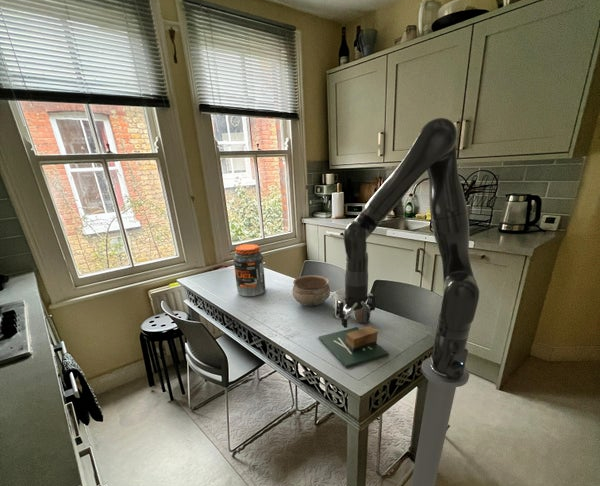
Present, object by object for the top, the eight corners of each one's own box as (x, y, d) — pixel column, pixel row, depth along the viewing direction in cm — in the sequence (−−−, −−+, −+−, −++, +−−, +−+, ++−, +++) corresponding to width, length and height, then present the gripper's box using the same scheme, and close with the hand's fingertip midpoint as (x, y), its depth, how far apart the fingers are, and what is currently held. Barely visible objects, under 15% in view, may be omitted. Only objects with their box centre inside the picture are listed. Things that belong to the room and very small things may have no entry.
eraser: (353, 351, 118) (353, 339, 116) (345, 345, 122) (346, 333, 120) (376, 344, 122) (377, 331, 120) (368, 338, 126) (369, 326, 124)
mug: (352, 316, 147) (353, 292, 142) (342, 320, 143) (343, 296, 138) (336, 309, 154) (336, 286, 149) (326, 313, 150) (326, 290, 145)
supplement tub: (232, 295, 173) (226, 249, 163) (245, 285, 187) (240, 242, 176) (258, 298, 169) (254, 251, 158) (270, 288, 182) (266, 243, 171)
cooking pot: (281, 301, 164) (280, 279, 159) (309, 292, 175) (308, 271, 170) (313, 318, 146) (313, 293, 141) (342, 306, 157) (342, 283, 152)
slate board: (388, 355, 117) (388, 352, 117) (346, 367, 111) (346, 365, 111) (356, 329, 136) (356, 326, 135) (318, 338, 130) (318, 336, 129)
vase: (353, 323, 140) (353, 305, 136) (355, 316, 146) (356, 299, 142) (368, 325, 138) (370, 307, 134) (370, 318, 144) (372, 301, 140)
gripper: (343, 289, 99) (343, 333, 106) (381, 281, 104) (378, 324, 111) (332, 281, 106) (332, 324, 113) (368, 274, 110) (366, 315, 117)
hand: (355, 324), depth 112 cm, fingers open, 8 cm apart
